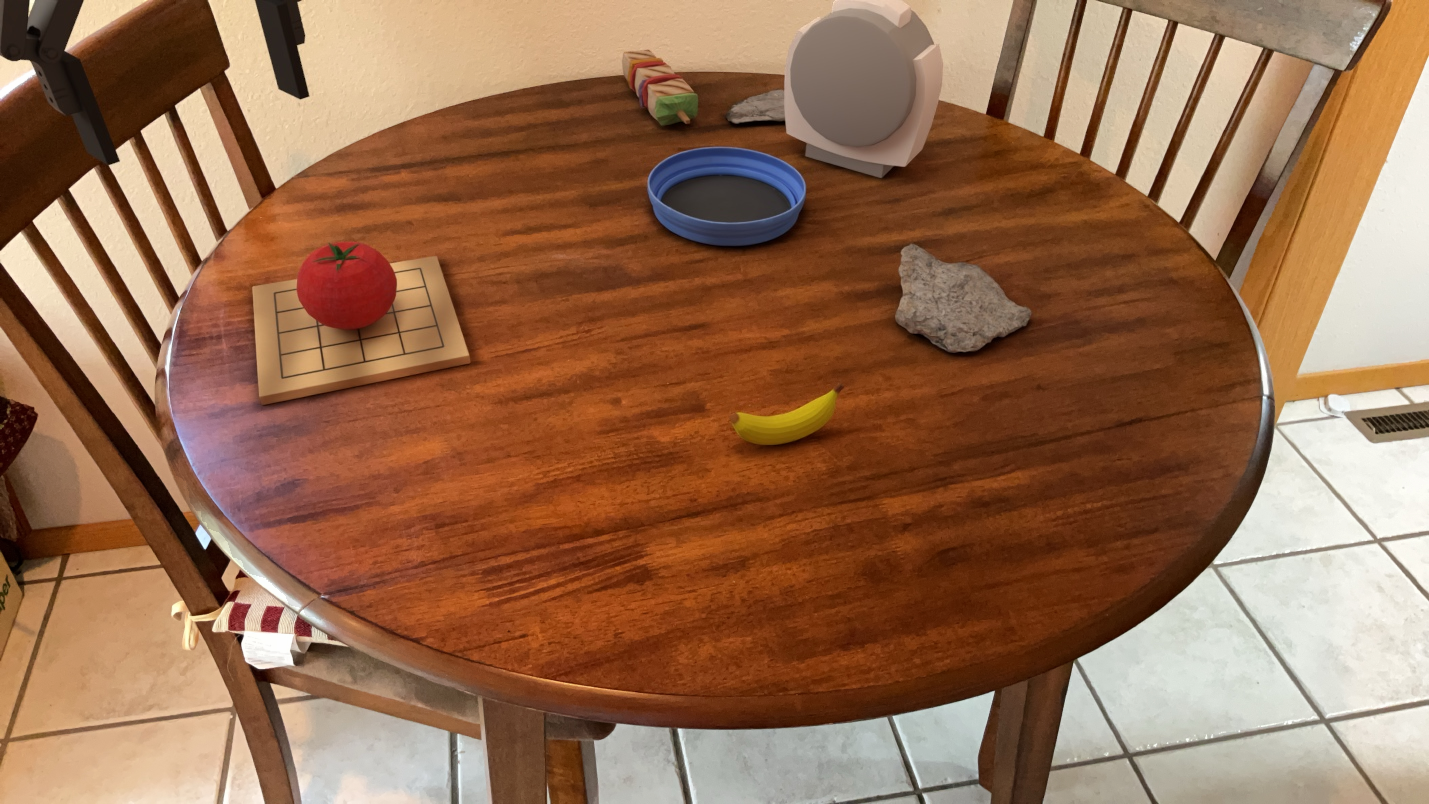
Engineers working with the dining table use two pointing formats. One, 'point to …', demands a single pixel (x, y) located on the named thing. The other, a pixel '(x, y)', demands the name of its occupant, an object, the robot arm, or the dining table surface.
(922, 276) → the rock
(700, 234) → the bowl
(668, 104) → the skewer
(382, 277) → the tomato
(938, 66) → the alarm clock
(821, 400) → the fruit
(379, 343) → the board
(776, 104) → the stone
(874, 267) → the dining table surface
